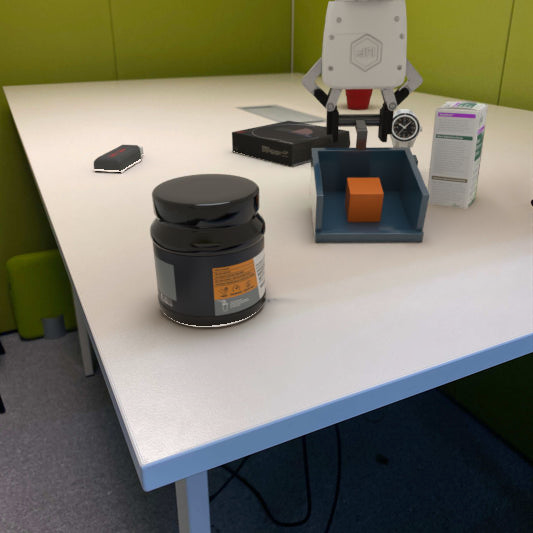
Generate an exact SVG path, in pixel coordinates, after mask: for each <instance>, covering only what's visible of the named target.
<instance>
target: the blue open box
mask: <svg viewBox="0 0 533 533" xmlns="http://www.w3.org/2000/svg"><path fill="white" fill-rule="evenodd" d="M380 125H381V114H380V113H339V125H338V128H353V127H354V128H355V132H356V142H355V147H349V148H312V149H311V162H310V175H309V176H310V177H309V181H310V182H309V199H310V210H311V212H310V213H311V222H312V233H313V239H314V240H313V241H314V243H315V244H317V243H318V244H319V243H321V244H329V243H332V244H333V243H335V244H336V243H337V244H340V243H341V244H342V243H343V244H344V243H357V244H358V243H423V240H424V235H425V234H424V226H425V222H426V216H427V211H428V205H429V203H428V201H429V196H430V195H429V193H428V187H427V186H426V183H425V181H424V178H423V176H422V173H421V171H420V169H419V166H418V167H417V164H416V162H415V159H414V157H413V155H414V154H413V153H412V150H411V148H409V147H393V146H391V147H388V146H386V147H385V146H384V147H367V143H368V133H369V131H368V128H369V127H371V128H372V127H379V126H380ZM367 127H368V128H367ZM347 178H379V179H380V183H381V186H382V189H383V193H384V197H383V204H382V212H381V219H380V222H348V220H347V214H346V209H345V196H346V184H347Z"/></svg>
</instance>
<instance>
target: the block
mask: <svg viewBox="0 0 533 533" xmlns="http://www.w3.org/2000/svg"><path fill="white" fill-rule="evenodd" d="M383 197H384V193H383V189H382V186H381V183H380V179H379V178H347V184H346V196H345V209H346V214H347V220H348V222H380V219H381V212H382V204H383Z"/></svg>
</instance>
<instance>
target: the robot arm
mask: <svg viewBox="0 0 533 533" xmlns="http://www.w3.org/2000/svg"><path fill="white" fill-rule="evenodd" d="M407 17H408V16H407V5H406V0H329V1H328V4H327V8H326V12H325V19H324V20H325V21H324V28H323V35H322V49H321V57H319V59H318V60H317V61H316V62H315V63H314V64H313V65H312V67H311V68H310V69H309V70H308V71H307V72H306V74H305V75H304V76H303V77H302V78H301V81H300V82H301V86H302V87H304V88H305V89H306V90H307V91H308V92H309V93H310V95H312V96H313V97H314V98H315V99H316V100H317V101H318V103H320V104H321V105H322V106H323V108H324V109H325V110H326V124H325V125H326V126H325V127H326V135H331V140H332V143H336V142H338V129H339V127H338V125H339V114H340V112H339V109H338V105H337V104H338V102H339V99H340V96H341V95H342V91H343V90H345V89H373V90H379V91H380V93H381V98H382V101H383V103H382V106H381V107H380V108H379V114H381V125H380V126H378V128H377V129H378V130H377V138H378V139H379V141H380V142H382V143H387V142H388V135H390V134H392V125H393V116H394V114H395V111H396V110H397V109H398V106H400V105H401V104H402V103H403V102H404V101H405V100H406V99H407V98H408V97H409V95H410V94H412V93H413V92H414V91H415V90H416V89H417V88H419V87H420V86H421V85H422V84H423V83H424V78H423V76H421V74H420V73H419V71H417V69H416V68H415V67H414V66H413V64H412V63H411V62H410V61H409V59H408V58H407V51H408V50H407V49H408V48H407V47H408V18H407ZM320 75H321V79H322V82H323V84H324V85H325V86H326V87H328V88H329V90H328V93H326V92H325V91H324V89H322V88H321V86H319V85H318V84H317V83H316V80H317V79H318V77H319V76H320ZM405 78H406V79H407V80H406V82H405ZM398 87H399V88H398ZM395 88H397V89H396V90H395V91H394V89H395Z"/></svg>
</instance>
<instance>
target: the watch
mask: <svg viewBox="0 0 533 533" xmlns="http://www.w3.org/2000/svg"><path fill="white" fill-rule="evenodd" d="M421 132H422V133H423V126H421V123H420V120H419V119H418V118H417V115H416V113H415V111H413V109H410V108H409V109H408V108H396V111H394V113H393V125H392V134H389V136H390V140H391V143H392V147H409V148H410V149H411V148H413V147H414V145H415V143H416V139H417V138H418V136H419V134H420V133H421ZM412 155H413V157H414V159H415V162H416V164H417V167H418V168H419V160H418V158H417V155H416V154H412Z"/></svg>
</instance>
